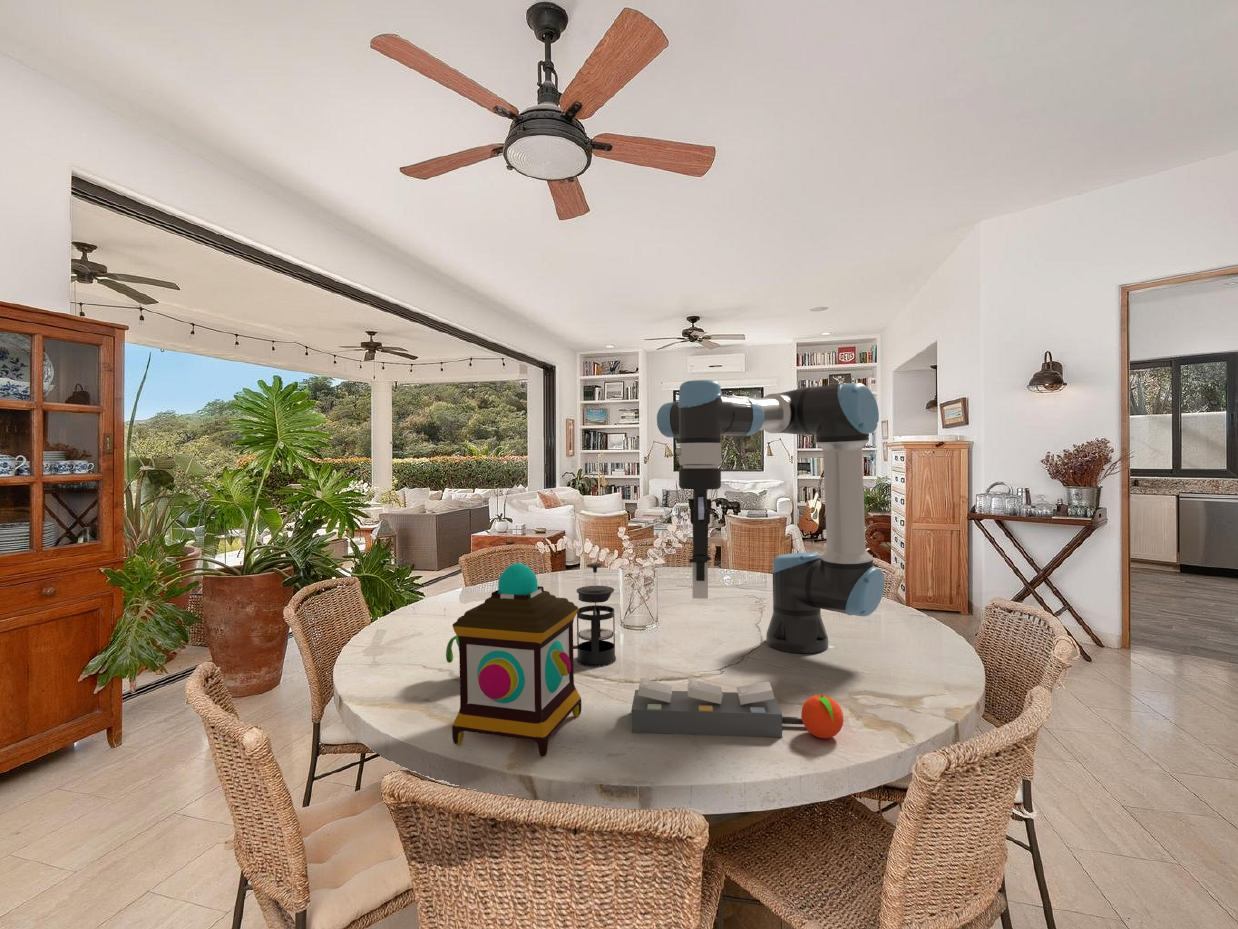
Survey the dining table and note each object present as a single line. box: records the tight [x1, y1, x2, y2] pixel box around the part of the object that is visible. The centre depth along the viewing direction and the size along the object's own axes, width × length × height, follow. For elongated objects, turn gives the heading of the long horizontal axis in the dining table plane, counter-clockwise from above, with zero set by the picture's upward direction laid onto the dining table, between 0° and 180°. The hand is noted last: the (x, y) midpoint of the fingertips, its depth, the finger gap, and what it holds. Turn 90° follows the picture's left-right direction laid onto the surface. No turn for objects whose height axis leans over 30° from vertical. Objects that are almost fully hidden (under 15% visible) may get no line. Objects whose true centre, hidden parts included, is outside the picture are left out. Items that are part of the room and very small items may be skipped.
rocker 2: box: [686, 679, 723, 704], centre depth 110 cm, size 6×4×2 cm, turn 84°
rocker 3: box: [736, 681, 775, 705], centre depth 109 cm, size 6×4×2 cm, turn 84°
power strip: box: [630, 689, 804, 738], centre depth 109 cm, size 32×9×4 cm, turn 84°
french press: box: [573, 562, 617, 668], centre depth 144 cm, size 12×9×23 cm
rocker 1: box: [637, 677, 673, 703], centre depth 110 cm, size 6×4×2 cm, turn 84°
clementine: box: [800, 694, 844, 739], centre depth 104 cm, size 8×7×7 cm
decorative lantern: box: [451, 562, 582, 758], centre depth 108 cm, size 20×20×30 cm
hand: (700, 597), depth 109 cm, fingers closed
